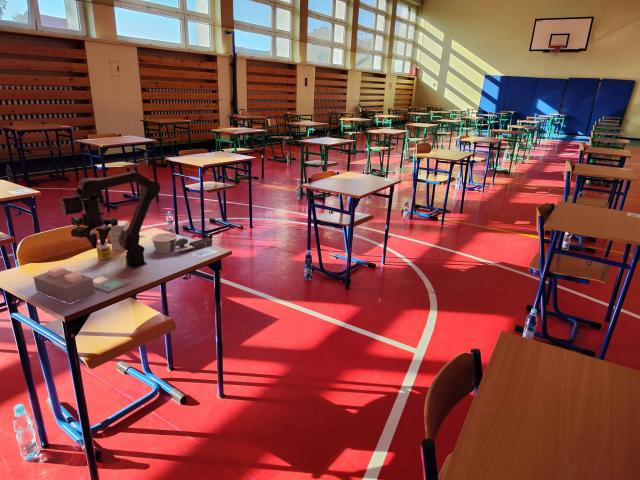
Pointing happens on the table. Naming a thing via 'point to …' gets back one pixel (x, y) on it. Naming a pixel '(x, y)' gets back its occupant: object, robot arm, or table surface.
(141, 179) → the robot arm
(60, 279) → the console
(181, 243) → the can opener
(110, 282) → the pattern card
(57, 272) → the button
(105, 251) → the supplement bottle
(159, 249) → the food container
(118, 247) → the white square tower
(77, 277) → the button
